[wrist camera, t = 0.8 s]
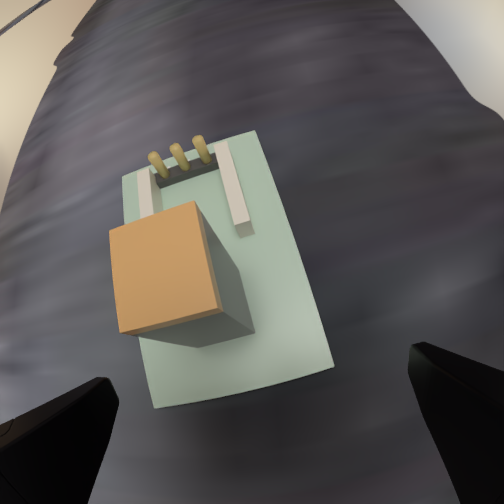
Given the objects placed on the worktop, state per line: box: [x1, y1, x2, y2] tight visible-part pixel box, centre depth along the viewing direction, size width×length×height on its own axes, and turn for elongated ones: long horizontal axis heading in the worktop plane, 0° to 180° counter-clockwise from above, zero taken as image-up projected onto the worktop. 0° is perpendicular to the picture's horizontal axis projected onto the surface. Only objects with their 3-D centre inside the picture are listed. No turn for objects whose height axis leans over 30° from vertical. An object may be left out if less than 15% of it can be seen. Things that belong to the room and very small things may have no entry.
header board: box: [122, 130, 335, 408], centre depth 24 cm, size 22×14×5 cm, turn 15°
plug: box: [109, 200, 255, 348], centre depth 18 cm, size 5×4×11 cm
